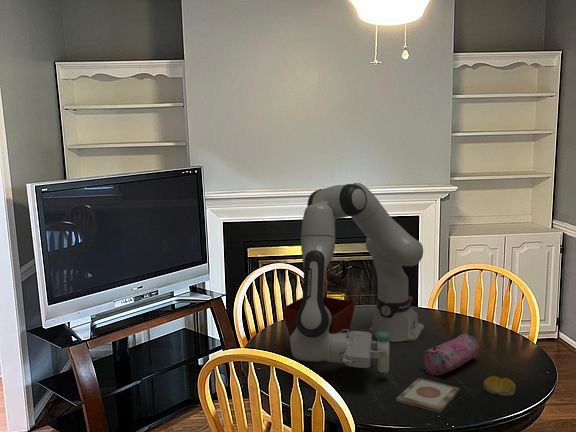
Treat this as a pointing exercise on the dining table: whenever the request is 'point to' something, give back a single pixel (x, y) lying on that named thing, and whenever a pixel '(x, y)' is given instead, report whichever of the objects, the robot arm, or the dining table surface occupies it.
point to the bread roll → (499, 386)
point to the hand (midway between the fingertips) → (386, 350)
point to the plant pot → (337, 308)
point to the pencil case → (450, 355)
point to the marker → (383, 344)
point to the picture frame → (428, 395)
